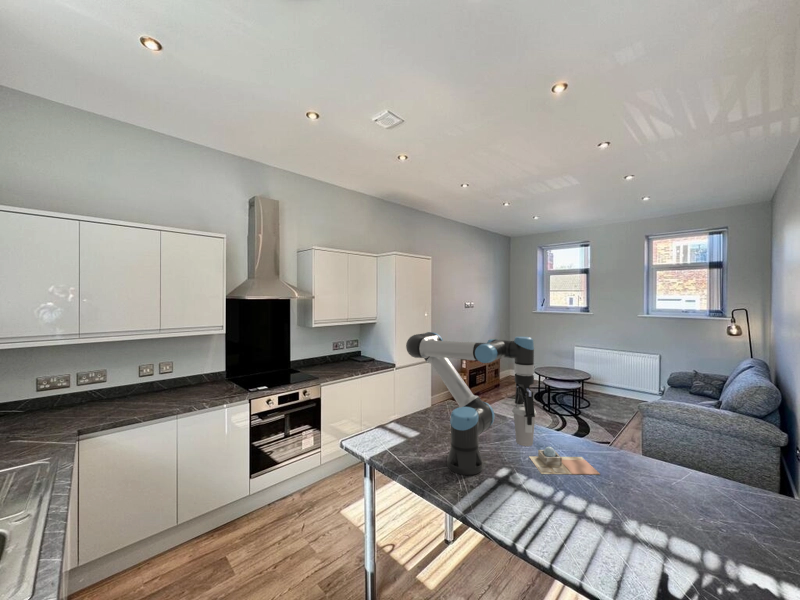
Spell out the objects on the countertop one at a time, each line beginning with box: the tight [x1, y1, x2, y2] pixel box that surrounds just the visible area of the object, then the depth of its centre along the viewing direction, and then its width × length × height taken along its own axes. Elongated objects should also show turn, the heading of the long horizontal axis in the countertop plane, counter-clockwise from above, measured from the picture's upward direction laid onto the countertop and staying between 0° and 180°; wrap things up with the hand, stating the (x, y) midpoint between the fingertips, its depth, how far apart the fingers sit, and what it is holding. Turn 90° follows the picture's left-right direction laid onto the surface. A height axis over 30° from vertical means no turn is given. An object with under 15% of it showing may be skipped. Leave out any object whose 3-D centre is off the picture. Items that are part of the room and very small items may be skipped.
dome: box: [543, 446, 556, 457], centre depth 135 cm, size 4×4×5 cm
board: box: [528, 449, 601, 476], centre depth 132 cm, size 23×14×4 cm, turn 87°
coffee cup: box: [511, 403, 538, 447], centre depth 131 cm, size 10×10×15 cm
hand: (524, 427), depth 131 cm, fingers closed on coffee cup, 9 cm apart
